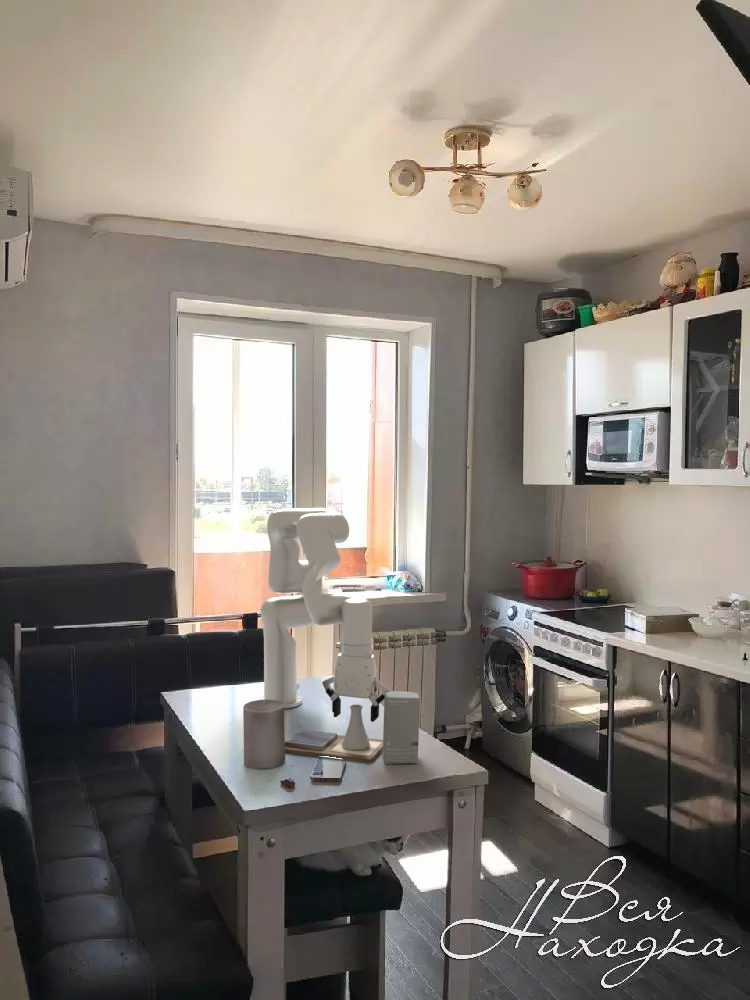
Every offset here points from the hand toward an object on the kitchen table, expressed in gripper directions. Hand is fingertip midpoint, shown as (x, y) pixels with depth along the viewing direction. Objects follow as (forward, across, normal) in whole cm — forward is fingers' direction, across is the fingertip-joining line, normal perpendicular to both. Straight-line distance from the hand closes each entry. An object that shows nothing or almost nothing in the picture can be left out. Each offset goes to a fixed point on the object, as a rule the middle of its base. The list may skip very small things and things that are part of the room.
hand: (355, 717), depth 200 cm
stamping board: (+8, -5, 0) cm, 10 cm away
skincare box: (+8, +13, -2) cm, 15 cm away
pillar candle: (+8, -17, -15) cm, 24 cm away
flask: (+7, 0, 0) cm, 7 cm away
